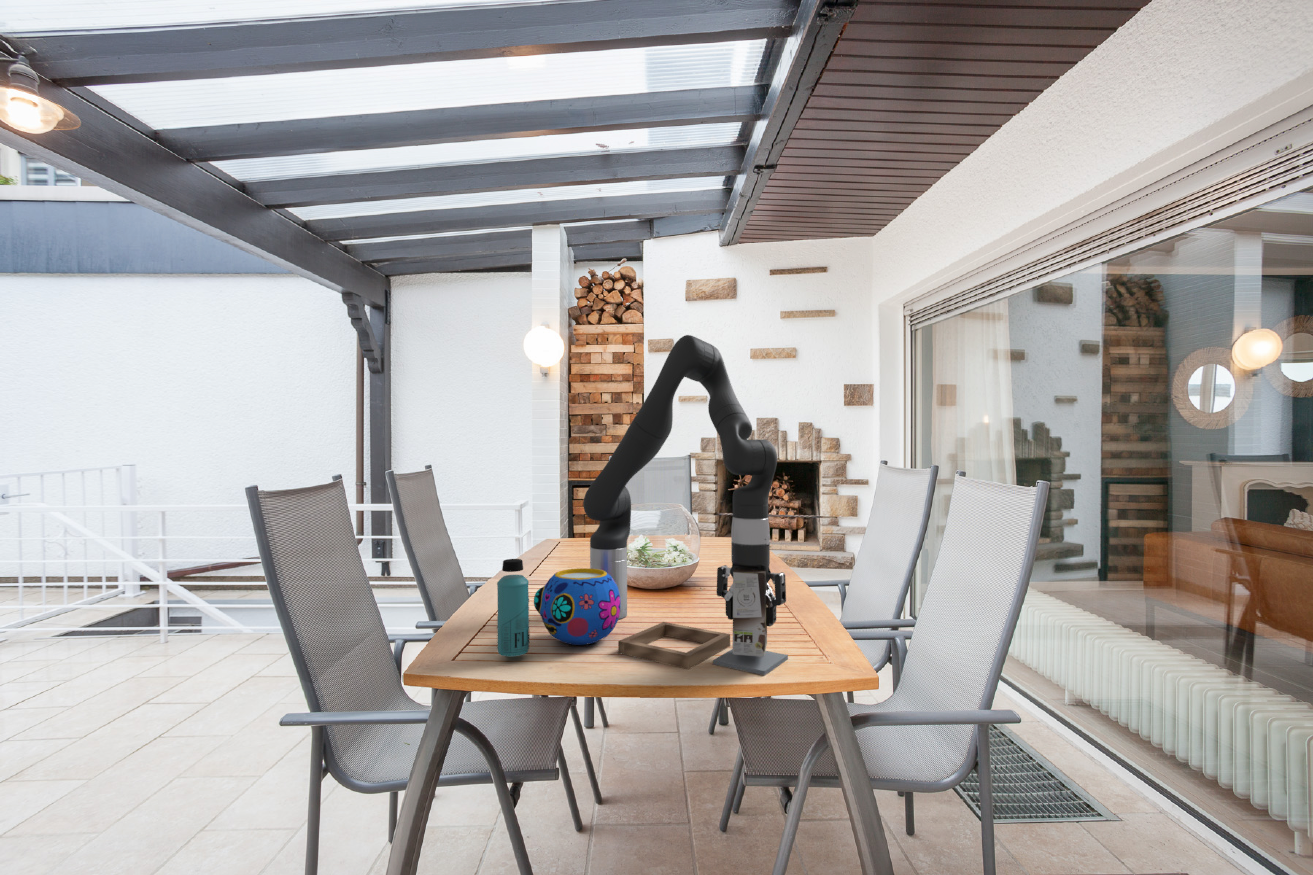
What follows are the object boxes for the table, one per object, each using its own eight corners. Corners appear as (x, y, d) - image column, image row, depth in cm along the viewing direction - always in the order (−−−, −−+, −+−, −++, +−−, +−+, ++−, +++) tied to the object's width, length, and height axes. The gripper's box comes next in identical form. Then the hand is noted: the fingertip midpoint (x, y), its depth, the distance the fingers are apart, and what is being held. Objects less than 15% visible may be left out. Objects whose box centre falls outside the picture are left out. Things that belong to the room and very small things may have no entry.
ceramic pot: (525, 639, 144) (525, 571, 144) (594, 625, 155) (593, 562, 155) (564, 660, 130) (564, 585, 130) (637, 643, 141) (636, 574, 141)
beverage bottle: (513, 666, 127) (513, 563, 127) (489, 660, 130) (489, 560, 130) (536, 657, 132) (536, 558, 132) (512, 651, 136) (512, 555, 136)
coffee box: (765, 657, 124) (765, 573, 124) (731, 655, 126) (731, 571, 126) (768, 642, 133) (768, 563, 133) (736, 640, 135) (736, 562, 135)
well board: (618, 653, 135) (618, 640, 135) (663, 632, 149) (663, 621, 149) (688, 669, 125) (688, 656, 125) (730, 645, 139) (730, 634, 139)
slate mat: (712, 664, 128) (712, 659, 128) (738, 649, 137) (738, 645, 137) (764, 675, 122) (764, 671, 122) (787, 658, 131) (787, 654, 131)
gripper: (709, 539, 130) (709, 620, 130) (776, 545, 122) (776, 632, 122) (727, 534, 137) (727, 612, 137) (791, 540, 129) (791, 623, 129)
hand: (750, 621), depth 129 cm, fingers closed on coffee box, 8 cm apart
